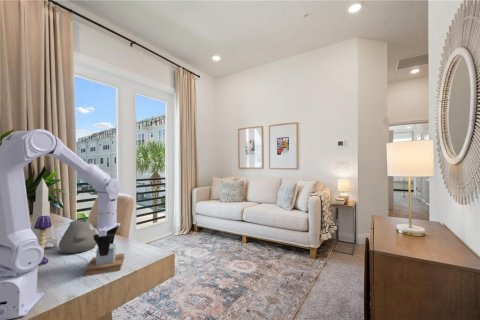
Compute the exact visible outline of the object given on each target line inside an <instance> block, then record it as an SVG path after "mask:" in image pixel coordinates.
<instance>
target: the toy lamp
mask: <svg viewBox="0 0 480 320" xmlns="http://www.w3.org/2000/svg"><path fill="white" fill-rule="evenodd" d="M51 226H53V225H52V222H51V216H50V217H49V216H40V217H38V219H37V221H36V224H35V227H34V229H40V234H39V236H40V237H39V245H40V246H41V247H42V248H43V250H44V251H45V246H46V245H44V244H45V237H46V235H47V233H46V231H47V229H51V228H50V227H51ZM46 228H47V229H46ZM44 256H45V255H44ZM44 256H43V259H42V261H41V262H40V263H39V264H38V267H39V266H42V265H45V264H48V263H49V258H47V257H46V256H45V257H44Z"/></svg>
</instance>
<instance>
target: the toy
mask: <svg viewBox="0 0 480 320" xmlns="http://www.w3.org/2000/svg"><path fill="white" fill-rule="evenodd" d="M82 215H83V219H82V218H81V219H75V220H72V221H70V222H69V225H68V227H67V228H66V230H65V232H64V233H63V235H62V237H61V239H60V240H59V243H58V248H59V250H60V251H61V252H64V253H65V254H66V253H67V254H77V253H82V252H86V251H88V250H89V251H90V250H91V249H93V248H94V247H96V246H97V243H96V241H95V240H94V238H93V236H94V235H96V234H98V233H97V231H96V229H95V228H94V226H93V224H92V223H91V222H90V221H89V220H87V216H86V214H85V212H82Z"/></svg>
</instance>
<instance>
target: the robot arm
mask: <svg viewBox="0 0 480 320" xmlns="http://www.w3.org/2000/svg"><path fill="white" fill-rule="evenodd" d="M1 140H2V141H1V144H0V320H11V319H15V318H17V319H18V318H22V317H25V316H26V315H27V314H28V313H29V312H30V311H31V310H32V309H33V308H34V306H35V305H36V304H37V303H38V302H39V301H40V299H41V298H42V297H43V296H44V295H45V293H44V292H38V268H39V266H38V264H39V263H40V262H41V261H42V259H43V256H45V249H44V250H43V248H42V247H41V246H40V245H39V244H38V239H37V237H36V235H35V234H34V233H33V231H32V230H31V227H32V225H31V219H30V211H29V204H28V196H27V195H28V194H27V188H26V180H25V179H26V178H25V172H24V171H25V170H24V168H25V167H26V166H27V165H28V164H30V163H31V162H32V161H33V160H35V159H36V158H39V157H41V156H45V157H53V158H55V159H56V160H59V161H60V162H62V163H63V164H65V165H66V166H68V167H70V168H71V169H73V170H75V171H76V172H77V175H78V178H80V180H82V181H84V182H85V183H86V184H88V185H90V186H91V187H93V190H94V191H95V193H97V225H96V229H97V231H98V233H97V234H96V235H94V236H93V238H94V240H95V241H96V243H97V244H96V246H97V248H98V249H99V254H100V256H107V255H108V252H109V247H110V244H114V241H115V238H116V237H115V236H116V234H117V231H118V230H119V229H118V228H119V227H120V226H121V222H117V220H118V219H117V217H118V216H117V215H118V214H117V212H118V198H119V192H120V191H121V190H122V184H121V182H120V181H119V180H118V178H116V177H111V176H110V175H111V174H110V173H106V172H105V171H104V170H103V169H101V168H100V165H99V164H98V163H93V162H92V163H91V162H90V163H87V162H86V161H84V160H83V159H82V158H81V157H80V156H78V155H77V154H76V153H75V152H74V151H73V150H71V149H70V148H69V147H68V146H66V145H65V144H64V143H63V141H62V140H61V139H60V138H59V137H57V136H55V135H54V134H53V133H51V132H50V131H48V130H46V129H43V128H37V129H32V130H18V131H17V130H16V131H14V132H12V133H10V134H8V135H7V136H5V137H3V138H2V139H1Z"/></svg>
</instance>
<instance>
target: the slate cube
mask: <svg viewBox="0 0 480 320" xmlns="http://www.w3.org/2000/svg"><path fill="white" fill-rule="evenodd" d="M95 254H96V255H95V257H96V265H102V264H109V263H113V262H114V260H115V258H116V254H117V243H114V242H113V244H110V247H109V252H108V255H107V256H100V254H99V249H98V247H97V248H96V253H95Z"/></svg>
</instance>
